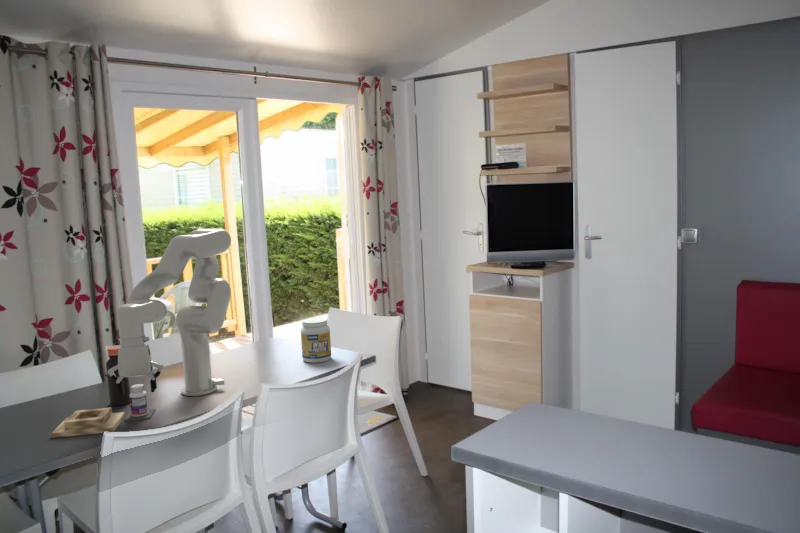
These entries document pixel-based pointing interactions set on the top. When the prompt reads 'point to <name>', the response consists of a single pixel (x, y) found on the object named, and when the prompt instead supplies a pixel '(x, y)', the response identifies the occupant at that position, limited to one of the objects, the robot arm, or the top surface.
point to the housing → (89, 422)
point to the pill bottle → (138, 401)
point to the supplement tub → (315, 340)
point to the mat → (148, 416)
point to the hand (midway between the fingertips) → (138, 392)
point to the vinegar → (112, 385)
